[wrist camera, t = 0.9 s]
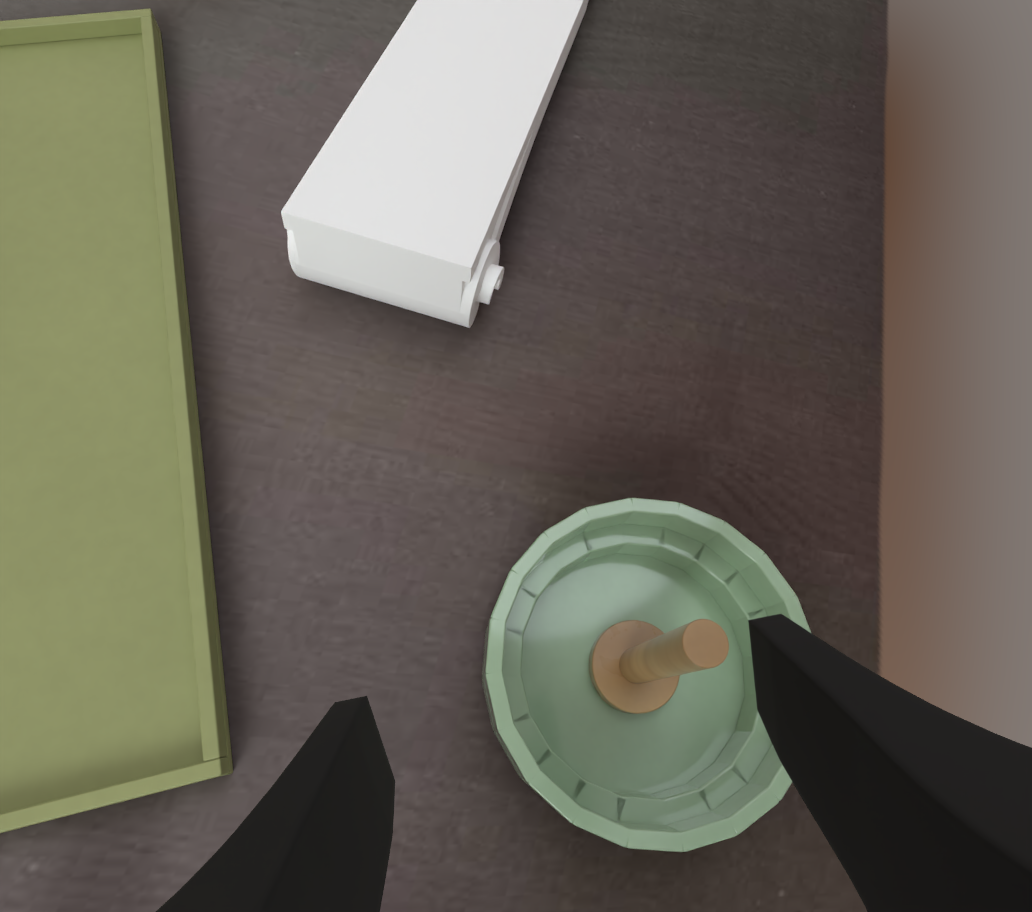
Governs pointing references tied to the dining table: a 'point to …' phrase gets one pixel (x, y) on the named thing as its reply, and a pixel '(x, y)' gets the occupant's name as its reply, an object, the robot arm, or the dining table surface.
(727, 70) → the dining table surface
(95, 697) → the serving tray
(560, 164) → the dining table surface
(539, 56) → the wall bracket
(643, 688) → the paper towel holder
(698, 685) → the shallow round dish
